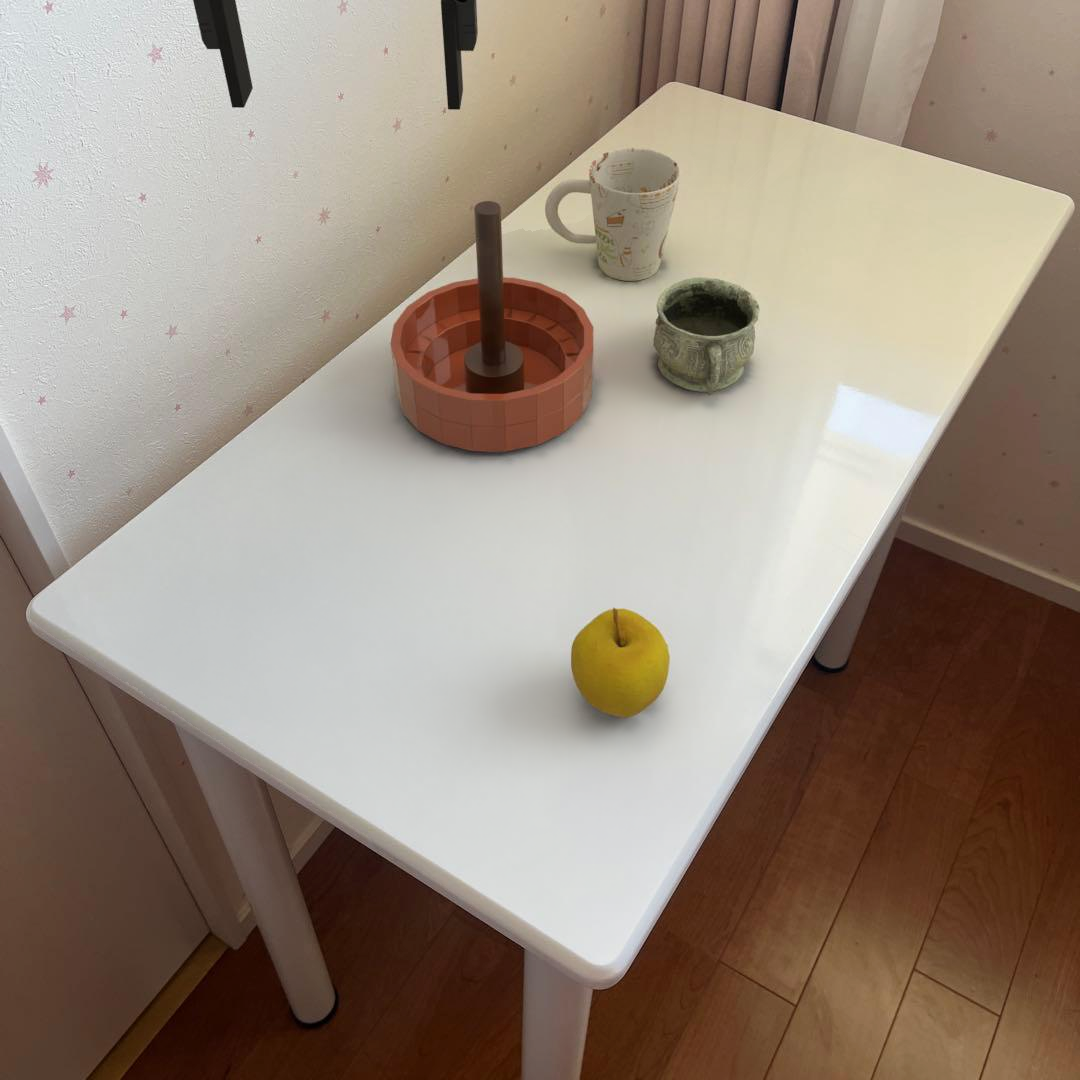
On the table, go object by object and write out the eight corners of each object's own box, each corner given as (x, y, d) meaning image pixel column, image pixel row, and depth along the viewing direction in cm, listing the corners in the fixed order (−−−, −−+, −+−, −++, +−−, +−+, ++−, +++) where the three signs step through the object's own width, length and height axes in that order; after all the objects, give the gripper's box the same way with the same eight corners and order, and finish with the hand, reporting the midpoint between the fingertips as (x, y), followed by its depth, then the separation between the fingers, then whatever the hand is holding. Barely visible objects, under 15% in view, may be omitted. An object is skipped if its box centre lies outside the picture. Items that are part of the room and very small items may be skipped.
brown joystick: (463, 404, 93) (451, 225, 81) (468, 367, 97) (456, 189, 84) (523, 405, 93) (519, 226, 81) (525, 367, 96) (522, 190, 84)
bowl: (387, 455, 90) (379, 398, 85) (409, 331, 101) (403, 275, 97) (591, 458, 89) (594, 401, 85) (590, 334, 101) (592, 278, 96)
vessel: (643, 326, 101) (648, 267, 97) (738, 323, 102) (747, 264, 97) (659, 411, 93) (665, 351, 89) (763, 407, 94) (774, 347, 89)
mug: (667, 292, 105) (677, 196, 98) (537, 280, 106) (537, 186, 99) (674, 244, 111) (683, 151, 103) (550, 234, 112) (551, 141, 105)
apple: (600, 646, 76) (604, 569, 71) (681, 687, 74) (693, 612, 68) (550, 710, 73) (550, 636, 67) (634, 756, 70) (642, 683, 65)
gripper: (546, -334, 57) (546, 73, 72) (67, -334, 57) (169, 70, 73) (542, -302, 52) (543, 128, 67) (16, -303, 52) (138, 125, 68)
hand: (349, 99), depth 70 cm, fingers open, 13 cm apart
